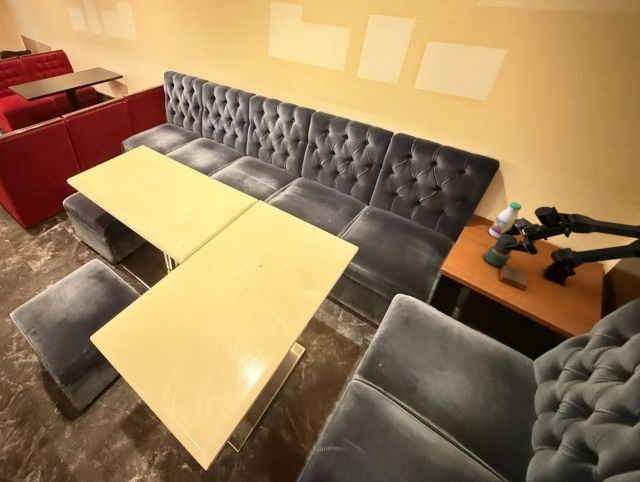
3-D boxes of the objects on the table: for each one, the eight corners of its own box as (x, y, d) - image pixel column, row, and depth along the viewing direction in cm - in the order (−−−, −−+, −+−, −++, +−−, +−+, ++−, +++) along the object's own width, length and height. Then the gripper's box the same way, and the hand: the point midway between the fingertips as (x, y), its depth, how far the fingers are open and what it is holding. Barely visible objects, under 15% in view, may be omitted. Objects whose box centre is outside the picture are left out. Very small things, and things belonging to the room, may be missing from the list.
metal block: (523, 277, 142) (526, 273, 140) (523, 290, 136) (527, 285, 135) (500, 268, 146) (503, 264, 144) (499, 280, 140) (503, 276, 139)
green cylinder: (504, 259, 151) (512, 248, 146) (504, 270, 145) (512, 259, 141) (484, 252, 155) (491, 241, 150) (483, 262, 149) (490, 251, 145)
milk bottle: (502, 230, 168) (521, 201, 156) (508, 240, 161) (529, 210, 150) (486, 228, 169) (504, 198, 158) (491, 237, 163) (510, 207, 152)
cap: (512, 252, 145) (520, 240, 140) (504, 256, 142) (512, 245, 138) (498, 243, 149) (505, 232, 145) (490, 247, 147) (497, 236, 143)
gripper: (530, 204, 139) (489, 217, 149) (543, 230, 125) (498, 242, 135) (542, 223, 141) (501, 234, 151) (557, 250, 127) (511, 260, 137)
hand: (502, 241), depth 144 cm, fingers open, 9 cm apart
